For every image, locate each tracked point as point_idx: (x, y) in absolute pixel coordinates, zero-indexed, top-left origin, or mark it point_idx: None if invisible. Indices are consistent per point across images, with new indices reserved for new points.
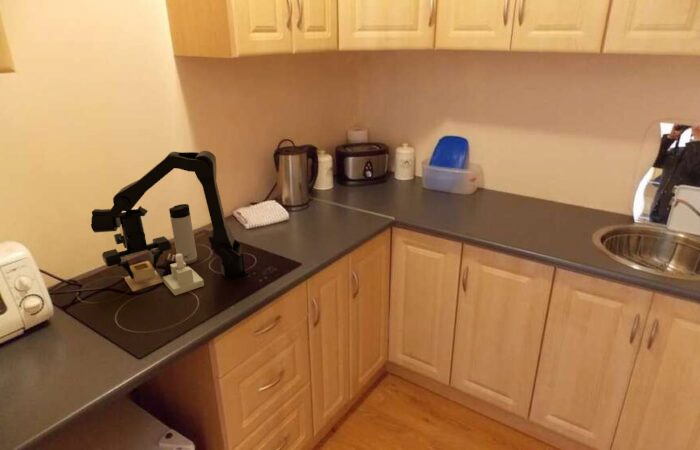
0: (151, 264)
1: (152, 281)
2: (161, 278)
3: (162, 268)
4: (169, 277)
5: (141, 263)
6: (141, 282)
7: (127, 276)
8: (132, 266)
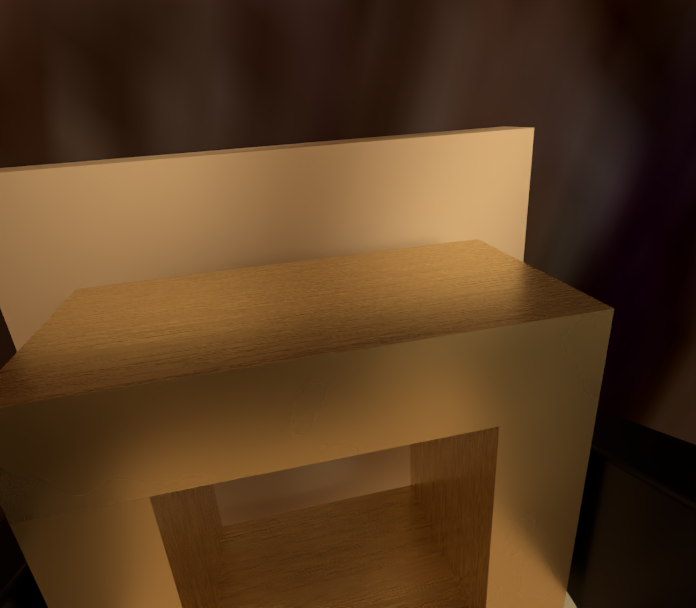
0: (572, 550)
1: None
2: None
3: (630, 99)
4: (571, 601)
5: (406, 408)
6: (254, 503)
7: (24, 175)
8: (121, 491)
